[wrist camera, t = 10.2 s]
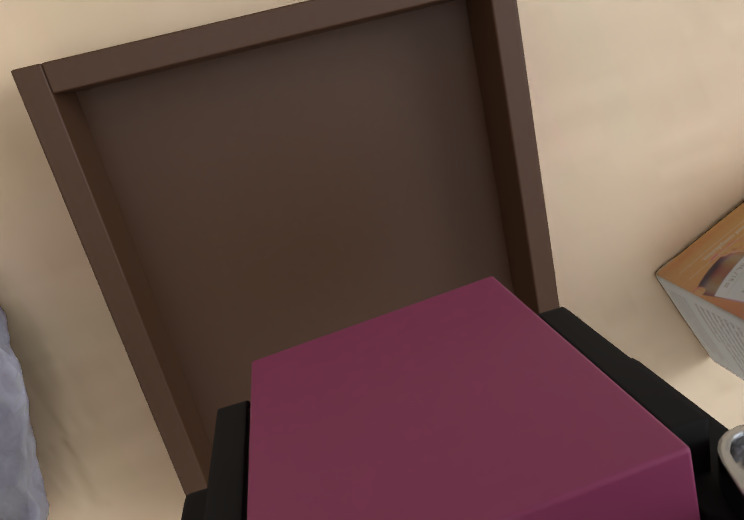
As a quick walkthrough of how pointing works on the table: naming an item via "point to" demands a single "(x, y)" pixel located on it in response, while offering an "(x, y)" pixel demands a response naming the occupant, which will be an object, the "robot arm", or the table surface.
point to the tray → (291, 184)
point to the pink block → (456, 424)
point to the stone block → (17, 442)
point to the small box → (713, 290)
